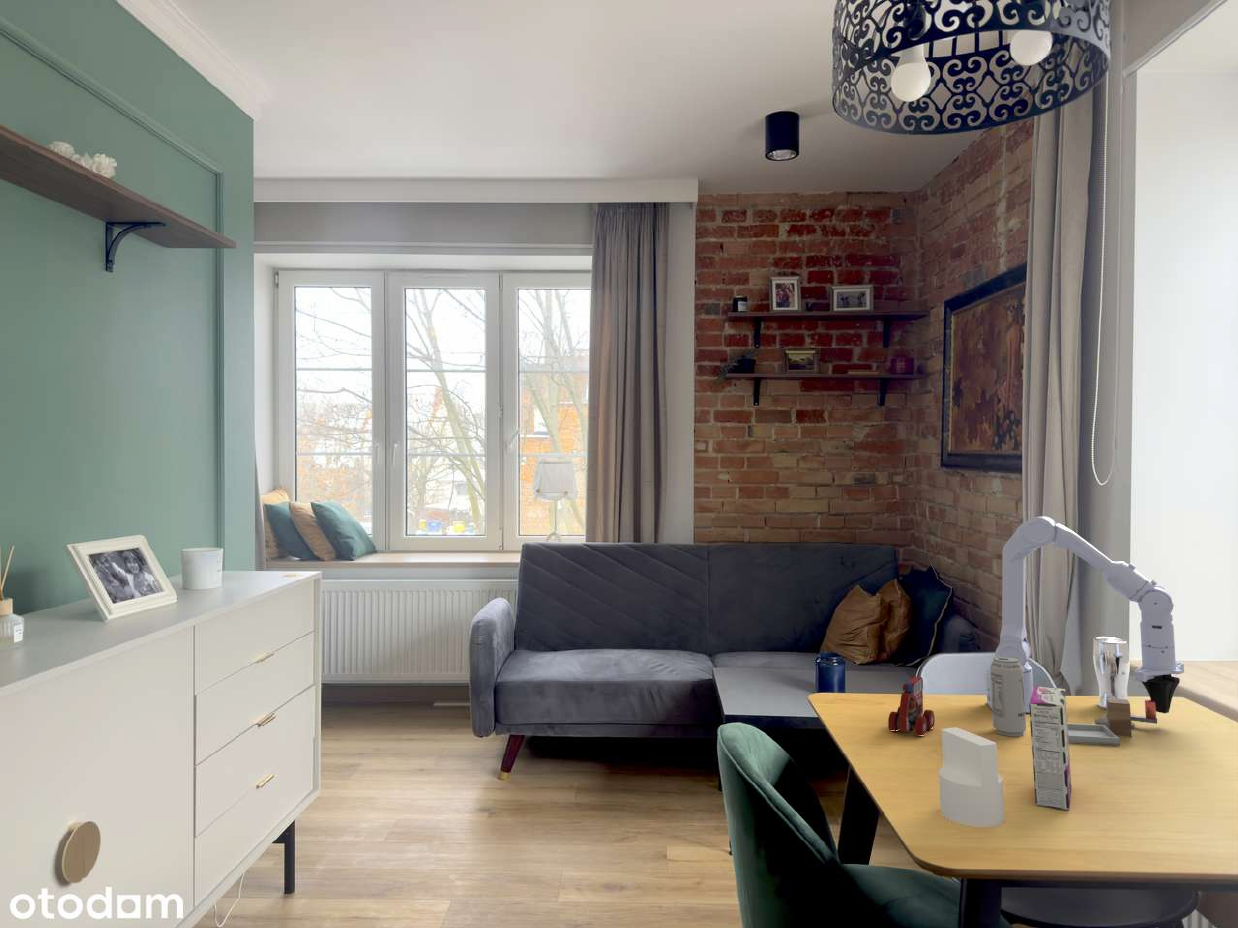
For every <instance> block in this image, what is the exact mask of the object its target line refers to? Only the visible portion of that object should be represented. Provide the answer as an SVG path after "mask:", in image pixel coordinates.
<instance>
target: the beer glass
mask: <svg viewBox="0 0 1238 928" xmlns="http://www.w3.org/2000/svg"><path fill="white" fill-rule="evenodd" d="M1128 643H1129V642H1128V640H1127V639H1125V638H1120V637H1119V638H1118V637H1112V636H1111V637H1110V636H1109V637H1108V636H1106V637H1105V636H1102V637H1101V636H1099V637H1094V638H1093V643H1092V644H1093V645H1092V646H1093V647H1092V648H1093V650H1092V659H1093V665H1094V671H1095V675H1096V680H1097V684H1098V689H1099V690H1098V693H1099V695H1098V701H1097V702H1098V703H1097V704H1098V706H1099V708H1102V709H1106V710H1107V701H1106V698H1115V699H1127V700H1128V702H1129V703H1130V701H1129V697H1128V682H1129V677H1130V667H1131V664H1130V663H1131V659H1130V658H1131V657H1130V650H1129V645H1128Z"/></svg>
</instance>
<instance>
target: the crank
mask: <svg viewBox="0 0 1238 928" xmlns="http://www.w3.org/2000/svg"><path fill="white" fill-rule="evenodd" d="M1144 711H1145V716H1142V715H1136V714H1135V715H1133V714H1131V722H1138V723H1147V724H1148V723H1149V724H1155V725H1157V724H1158V718H1157V712H1156V703H1155V701H1153V700H1151V699H1145V700H1144ZM1105 718H1107V710H1106V711H1105Z"/></svg>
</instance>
